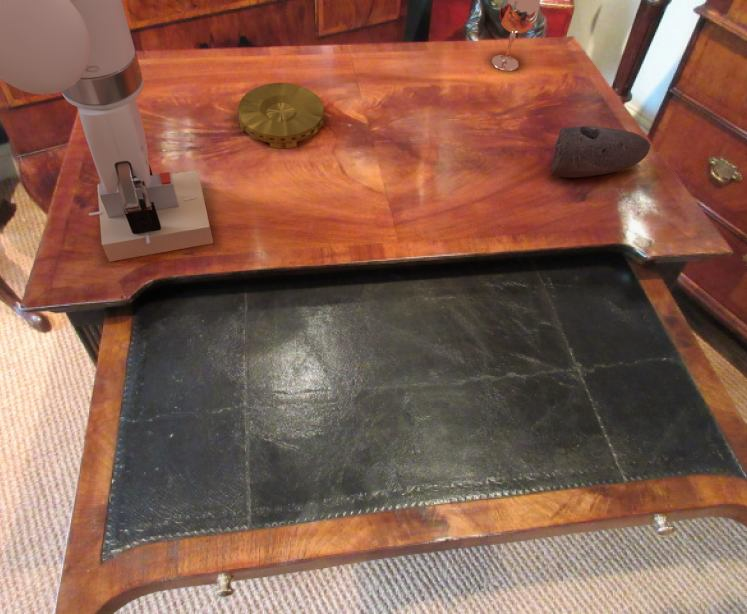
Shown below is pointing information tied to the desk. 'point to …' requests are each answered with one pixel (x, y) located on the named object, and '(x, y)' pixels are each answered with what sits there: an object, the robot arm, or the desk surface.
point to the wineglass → (515, 26)
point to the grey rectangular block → (158, 192)
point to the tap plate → (177, 224)
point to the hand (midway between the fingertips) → (143, 205)
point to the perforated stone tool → (596, 151)
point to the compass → (281, 114)
